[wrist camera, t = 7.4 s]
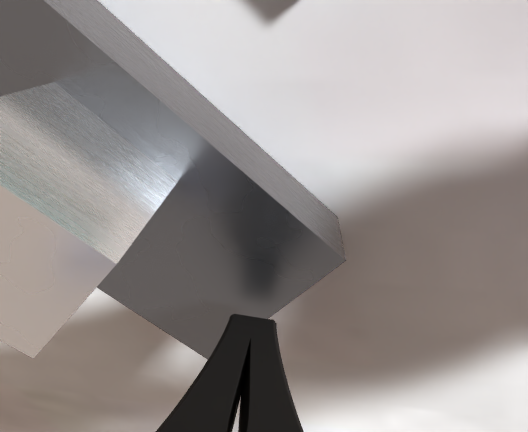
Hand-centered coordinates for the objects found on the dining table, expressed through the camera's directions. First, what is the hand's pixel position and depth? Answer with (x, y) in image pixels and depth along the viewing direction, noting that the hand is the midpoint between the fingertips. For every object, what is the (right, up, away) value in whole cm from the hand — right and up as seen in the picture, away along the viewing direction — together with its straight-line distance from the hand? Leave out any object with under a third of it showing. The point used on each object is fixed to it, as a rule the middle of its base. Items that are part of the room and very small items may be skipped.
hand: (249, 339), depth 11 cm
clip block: (-5, +5, 0) cm, 7 cm away
